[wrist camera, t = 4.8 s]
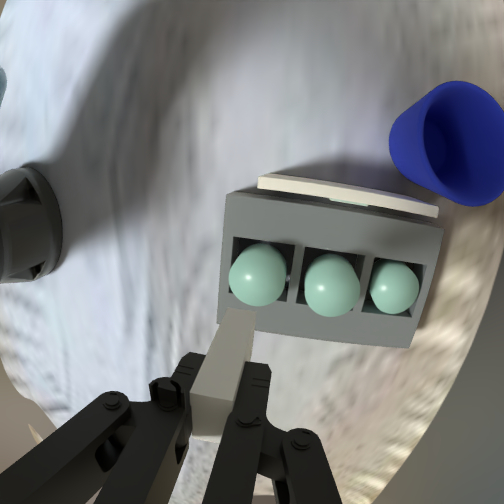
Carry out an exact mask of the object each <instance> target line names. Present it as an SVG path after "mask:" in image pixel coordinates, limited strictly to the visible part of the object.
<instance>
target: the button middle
mask: <svg viewBox="0 0 504 504" xmlns="http://www.w3.org/2000/svg"><path fill="white" fill-rule="evenodd" d="M359 296H360V283H359V280H358V278H357V276H356V273H355V271H354V269H353V267H352V265H351V263H350V262H349V261H348V260H347V259H346V258H344V257H342V256H340V255H337V254H324V255H321V256H319V257H317V258H315V259H314V260H313V261H312V262H311V263H310V264H309V265H308V267H307V269H306V272H305V298H306V301H307V303H308V305H309V307H310V308H311V309H312V310H313V311H314V312H316V313H317V314H320V315H322V316H326V317H336V316H340V315H343V314H345V313H347V312H348V311H350V310H351V309H352V308H353V307H354V306H355V304H356V303H357V301H358V299H359Z"/></svg>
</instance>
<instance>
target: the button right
mask: <svg viewBox="0 0 504 504" xmlns="http://www.w3.org/2000/svg"><path fill="white" fill-rule="evenodd" d="M367 288H368V290H369V292H370V294H371V297H372V299H373V301H374V303H375V305H376V306H377V308H378V309H380V310H381V311H383V312H385V313H388V314H396V313H400V312H403V311H405V310H406V309H408V308H409V307H410V306H411V305H412V304H413V303H414V301H415V300H416V298H417V295H418V292H419V282H418V279H417V277H416V275H415V274H414V273H413V272H412V271H411V270H410V269H409V267H408V266H407V265H406V264H405V263H404V262H403V261H399V260H392V259H386V258H382V259H380V260H378V261H376V262H375V263H374V264H373V266H372V270H371V275H370V279H369V283H368V287H367Z"/></svg>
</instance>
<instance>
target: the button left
mask: <svg viewBox="0 0 504 504" xmlns="http://www.w3.org/2000/svg"><path fill="white" fill-rule="evenodd" d="M286 272H287V265H286V261H285V258H284V256H283V255H282V254H281V252H280V251H279V250H277V249H276V248H275V247H273V246H271V245H268V244H262V243H259V244H253V245H250V246H248V247H247V248H245V249H244V250H243V251H242V252H241V253H240V255H239V256H238V258H237V259H236V261H235V262H234V264H233V265H232V267H231V269H230V272H229V285H230V288H231V290H232V292H233V293H234V295H235V296H236V297H237V298H238V299H239V300H240V301H242V302H244V303H246V304H248V305H252V306H265V305H268V304H271V303H273V302H274V301H275V300H277V299H278V298H279V297H280V295H281V294H282V292H283V289H284V286H285V279H286Z"/></svg>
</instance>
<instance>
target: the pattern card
mask: <svg viewBox="0 0 504 504" xmlns="http://www.w3.org/2000/svg"><path fill="white" fill-rule="evenodd" d="M257 188H261V189H269V190H277V191H284V192H292V193H299V194H306V195H313V196H320V197H326V198H330V200H331V201H338V202H344V203H350V204H356V205H362V206H367V207H368V204H369V205H374V206H380V207H385V208H390V209H396V210H401V211H406V212H411V213H416V214H421V215H426V216H430V217H435V218H437V216H438V210H439V207H438V206H435V205H432V204H429V203H427V202H424V201H421V200H418V199H415V198H413V197H410V196H406V195H401V194H396V193H391V192H386V191H381V190H376V189H370V188H365V187H359V186H353V185H348V184H342V183H335V182H329V181H323V180H316V179H309V178H302V177H295V176H287V175H279V174H271V173H268V174H265V175H261V176H259V177H258V187H257Z"/></svg>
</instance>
